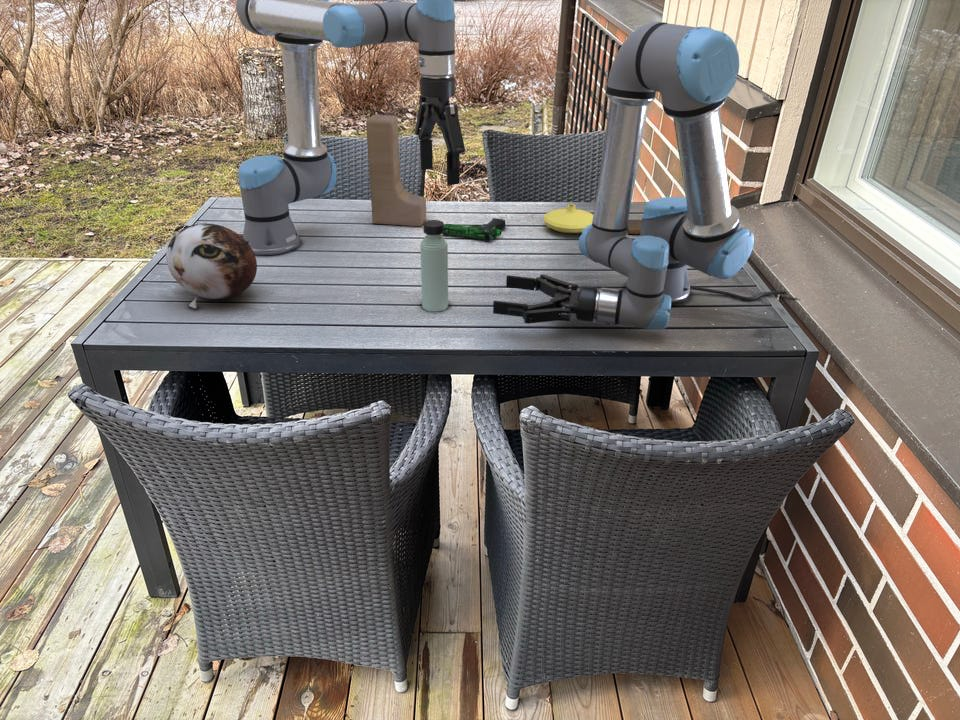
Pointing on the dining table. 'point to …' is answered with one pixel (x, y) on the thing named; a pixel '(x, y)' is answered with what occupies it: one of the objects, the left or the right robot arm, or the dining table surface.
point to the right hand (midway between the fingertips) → (500, 293)
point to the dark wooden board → (634, 226)
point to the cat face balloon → (211, 261)
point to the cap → (433, 227)
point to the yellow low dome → (568, 219)
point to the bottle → (434, 272)
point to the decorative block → (389, 176)
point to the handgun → (477, 230)
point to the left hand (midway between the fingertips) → (439, 176)
